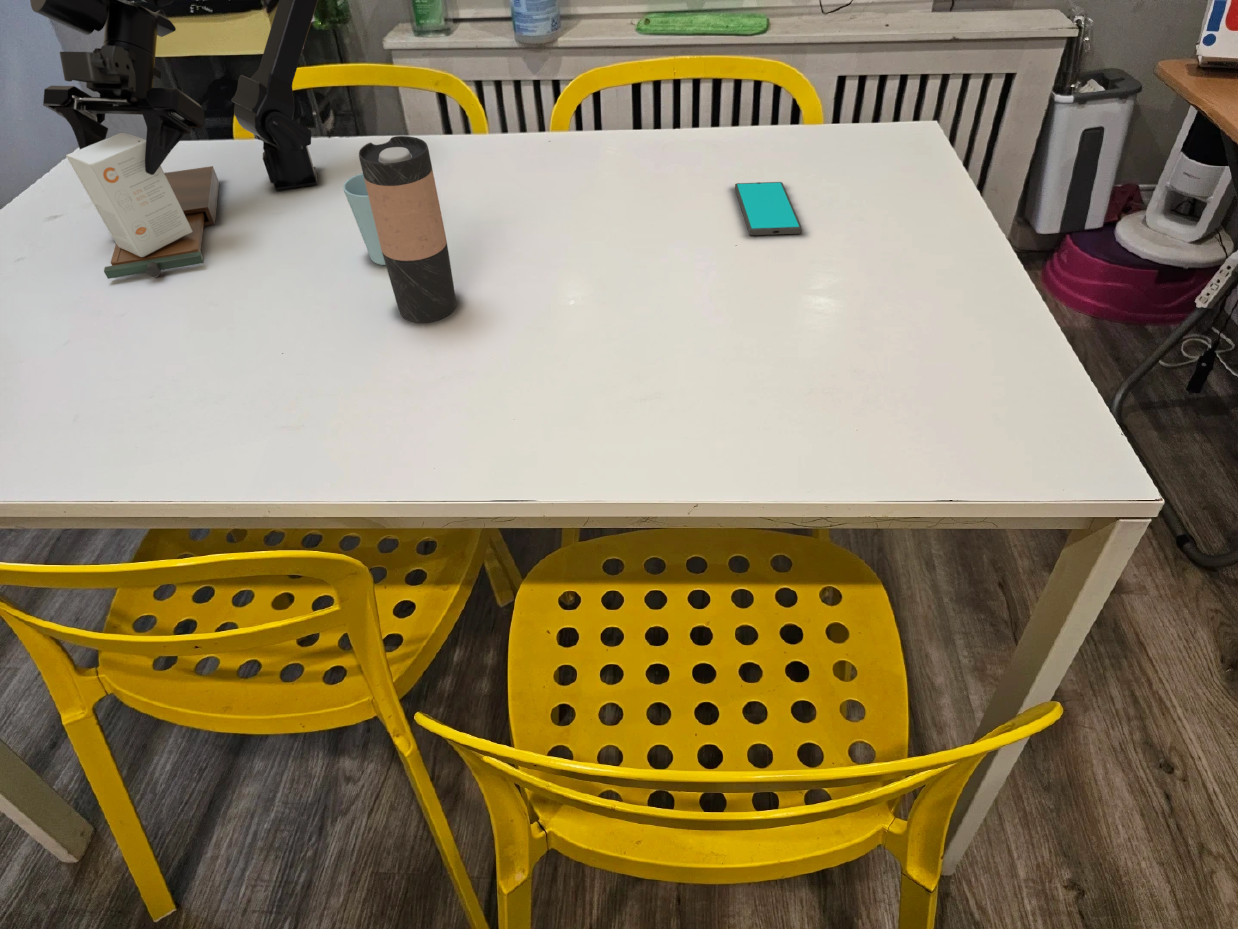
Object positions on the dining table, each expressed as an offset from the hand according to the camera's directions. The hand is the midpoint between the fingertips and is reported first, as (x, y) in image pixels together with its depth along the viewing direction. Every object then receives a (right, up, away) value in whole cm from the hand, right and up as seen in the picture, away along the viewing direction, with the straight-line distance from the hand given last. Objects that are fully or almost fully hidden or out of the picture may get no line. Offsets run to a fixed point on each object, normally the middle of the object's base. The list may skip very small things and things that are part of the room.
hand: (119, 172), depth 102 cm
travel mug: (+41, -18, -3) cm, 45 cm away
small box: (0, -7, +7) cm, 10 cm away
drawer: (+1, -8, +9) cm, 12 cm away
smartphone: (+86, -1, +14) cm, 87 cm away
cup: (+33, -9, +7) cm, 35 cm away
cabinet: (-4, +1, +19) cm, 19 cm away
